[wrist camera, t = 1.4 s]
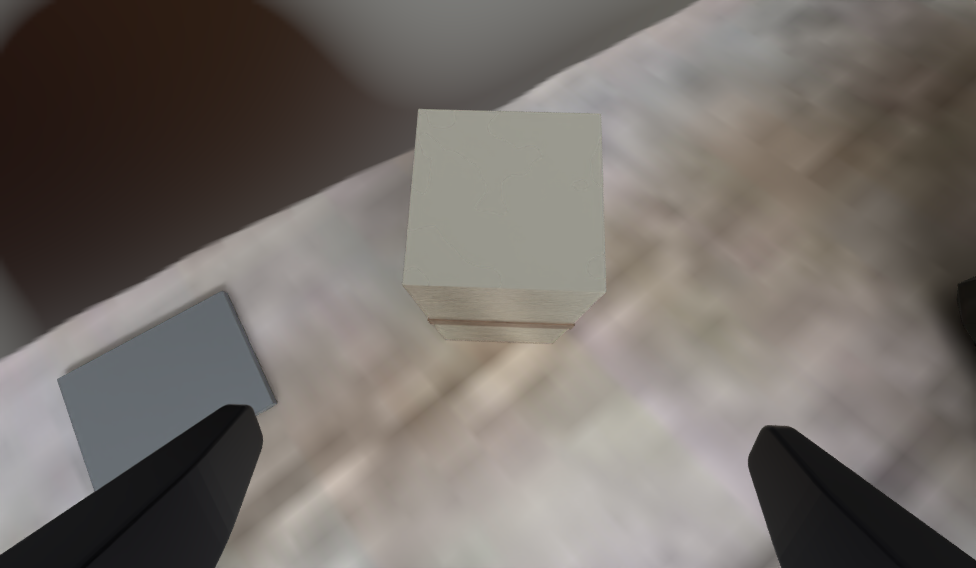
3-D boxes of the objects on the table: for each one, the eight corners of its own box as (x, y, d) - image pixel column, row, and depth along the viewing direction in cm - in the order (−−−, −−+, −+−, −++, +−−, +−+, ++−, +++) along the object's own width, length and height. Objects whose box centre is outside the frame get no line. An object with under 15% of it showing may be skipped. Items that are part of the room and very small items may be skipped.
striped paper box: (554, 344, 21) (608, 293, 11) (444, 340, 21) (400, 286, 11) (554, 241, 22) (602, 112, 12) (450, 237, 22) (416, 107, 12)
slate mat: (277, 403, 20) (272, 403, 20) (106, 502, 19) (98, 504, 19) (226, 292, 21) (222, 290, 21) (65, 379, 20) (57, 379, 20)
